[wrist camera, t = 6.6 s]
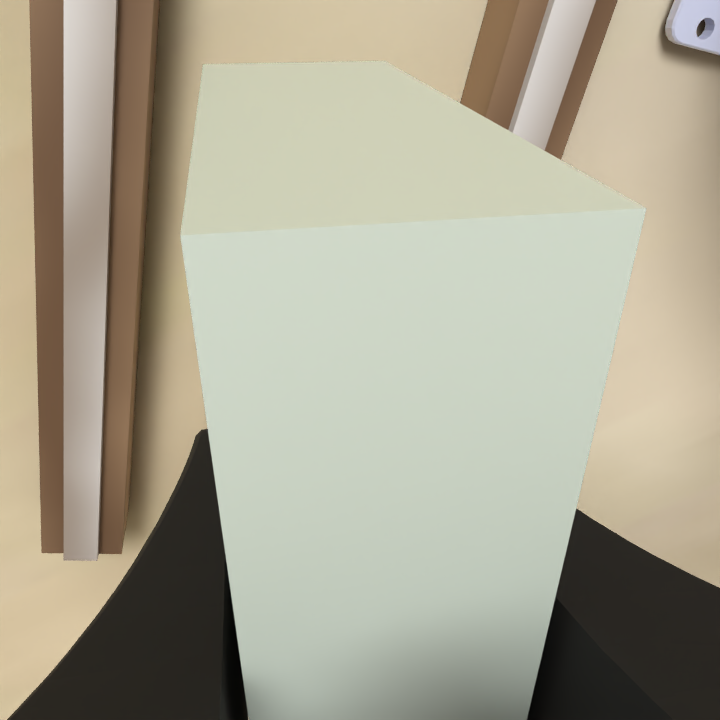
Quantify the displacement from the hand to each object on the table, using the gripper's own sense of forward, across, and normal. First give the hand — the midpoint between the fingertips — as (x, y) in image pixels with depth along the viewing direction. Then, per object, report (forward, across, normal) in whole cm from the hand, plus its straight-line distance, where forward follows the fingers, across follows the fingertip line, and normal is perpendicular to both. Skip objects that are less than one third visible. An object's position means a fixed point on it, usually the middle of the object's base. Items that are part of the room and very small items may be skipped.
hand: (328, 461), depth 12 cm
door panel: (+3, 0, 0) cm, 3 cm away
